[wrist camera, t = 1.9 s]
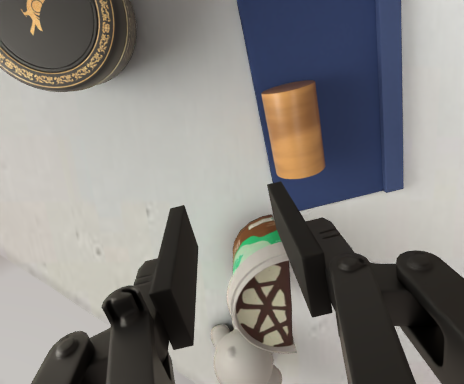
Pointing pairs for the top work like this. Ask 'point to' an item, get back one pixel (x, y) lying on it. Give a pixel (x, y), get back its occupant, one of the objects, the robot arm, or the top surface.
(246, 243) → the food container
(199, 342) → the top surface
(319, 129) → the roller
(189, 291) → the robot arm
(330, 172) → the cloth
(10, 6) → the jar
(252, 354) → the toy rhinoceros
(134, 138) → the top surface
